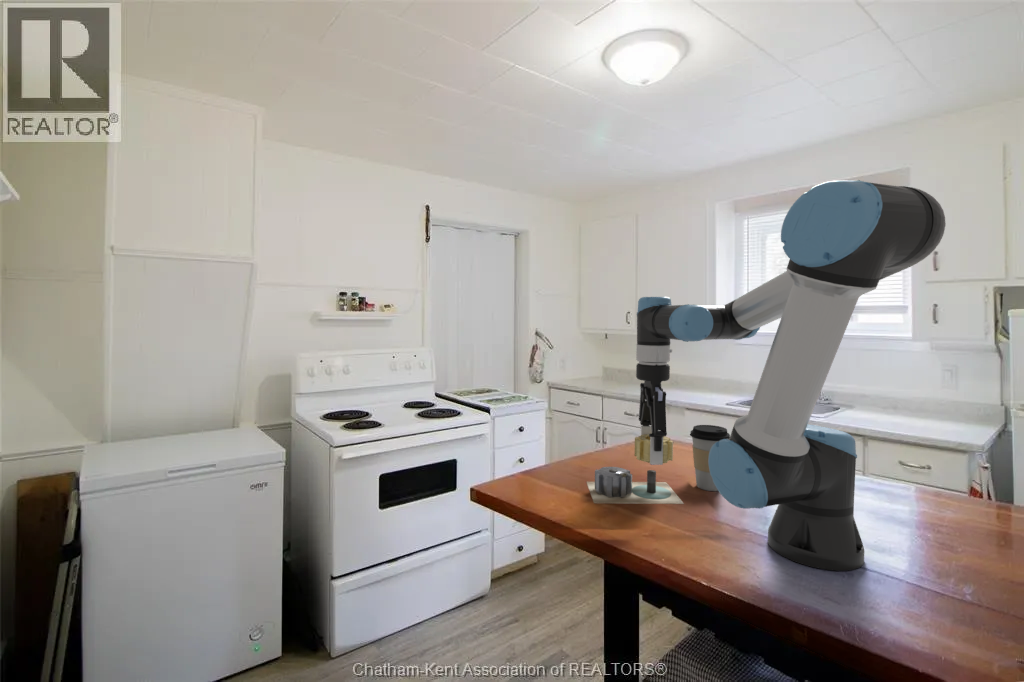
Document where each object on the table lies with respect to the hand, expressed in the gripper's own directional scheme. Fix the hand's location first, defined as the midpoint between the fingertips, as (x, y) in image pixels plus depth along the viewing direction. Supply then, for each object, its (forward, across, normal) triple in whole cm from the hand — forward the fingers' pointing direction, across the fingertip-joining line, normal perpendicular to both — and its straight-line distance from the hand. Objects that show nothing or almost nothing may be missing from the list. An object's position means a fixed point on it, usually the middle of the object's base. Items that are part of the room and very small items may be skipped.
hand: (651, 458), depth 116 cm
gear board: (+10, 0, +4) cm, 11 cm away
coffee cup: (+10, +8, -17) cm, 21 cm away
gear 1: (+8, 0, +9) cm, 12 cm away
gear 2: (0, 0, 0) cm, 1 cm away
